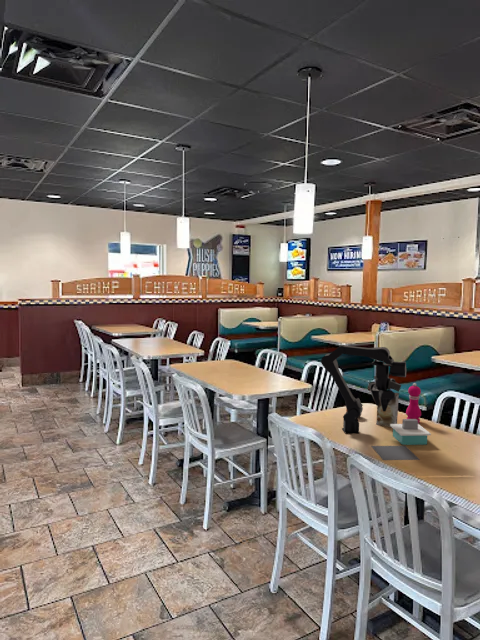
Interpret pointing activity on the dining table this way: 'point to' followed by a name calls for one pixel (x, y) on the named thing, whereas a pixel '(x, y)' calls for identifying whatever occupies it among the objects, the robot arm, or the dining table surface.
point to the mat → (395, 453)
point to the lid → (410, 428)
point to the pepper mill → (414, 403)
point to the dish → (410, 439)
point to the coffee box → (388, 413)
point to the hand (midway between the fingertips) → (380, 408)
